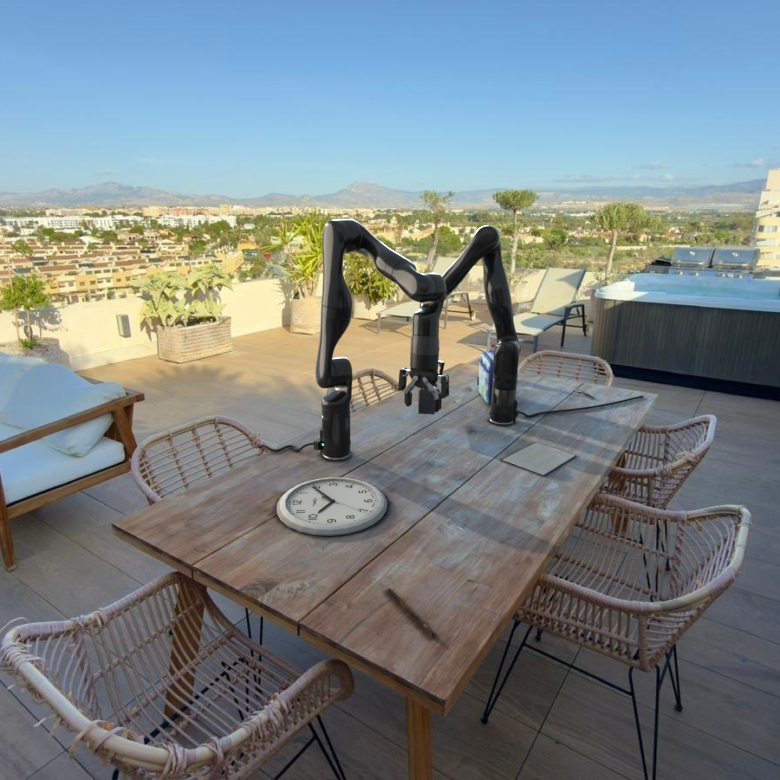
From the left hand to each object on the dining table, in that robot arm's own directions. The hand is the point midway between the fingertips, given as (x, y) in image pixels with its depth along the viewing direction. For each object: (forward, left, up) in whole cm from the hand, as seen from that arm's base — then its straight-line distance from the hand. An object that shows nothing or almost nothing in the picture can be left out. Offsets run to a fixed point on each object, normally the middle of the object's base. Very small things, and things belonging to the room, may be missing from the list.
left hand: (422, 408), depth 143 cm
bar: (-28, +52, -19) cm, 62 cm away
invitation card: (+21, +44, -26) cm, 55 cm away
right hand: (-32, +59, -14) cm, 69 cm away
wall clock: (-16, -20, -26) cm, 36 cm away
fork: (+15, +126, -26) cm, 129 cm away
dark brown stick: (+23, -44, -26) cm, 56 cm away
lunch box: (-17, +93, -26) cm, 98 cm away
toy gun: (-34, +127, -26) cm, 134 cm away
